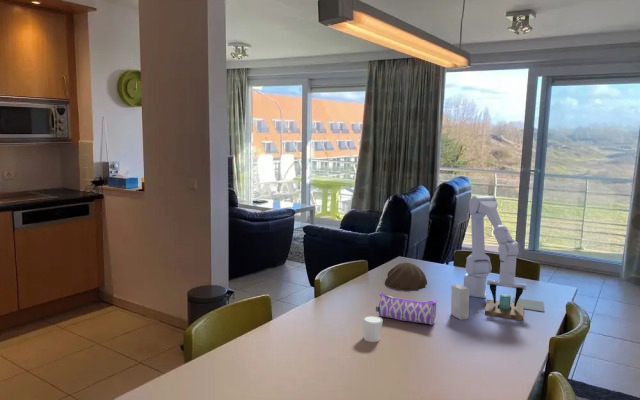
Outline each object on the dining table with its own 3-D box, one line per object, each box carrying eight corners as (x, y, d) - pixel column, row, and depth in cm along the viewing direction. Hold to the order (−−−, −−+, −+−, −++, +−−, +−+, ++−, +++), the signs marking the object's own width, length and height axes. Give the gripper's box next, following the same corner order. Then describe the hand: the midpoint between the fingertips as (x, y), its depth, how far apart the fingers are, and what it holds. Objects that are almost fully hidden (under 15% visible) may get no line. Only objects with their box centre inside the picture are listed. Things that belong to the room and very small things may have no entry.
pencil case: (375, 319, 179) (375, 295, 178) (381, 310, 188) (382, 288, 186) (433, 329, 171) (435, 304, 170) (437, 320, 180) (439, 296, 178)
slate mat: (512, 307, 194) (512, 306, 194) (512, 298, 205) (513, 297, 205) (544, 312, 190) (544, 311, 190) (543, 302, 201) (543, 301, 201)
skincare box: (468, 318, 181) (471, 288, 179) (459, 320, 180) (461, 289, 178) (459, 313, 187) (461, 283, 185) (449, 314, 185) (451, 284, 184)
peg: (498, 312, 189) (499, 296, 188) (499, 308, 193) (500, 293, 192) (509, 313, 187) (510, 298, 186) (509, 310, 191) (510, 295, 190)
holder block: (484, 314, 186) (484, 310, 186) (487, 302, 199) (487, 299, 199) (523, 320, 181) (523, 316, 181) (522, 308, 194) (523, 304, 193)
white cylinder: (369, 344, 157) (369, 324, 156) (358, 336, 163) (358, 317, 162) (385, 340, 160) (386, 321, 159) (374, 332, 166) (375, 314, 165)
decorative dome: (384, 276, 234) (385, 256, 232) (425, 278, 232) (426, 258, 230) (385, 288, 215) (386, 267, 213) (429, 291, 212) (430, 270, 211)
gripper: (487, 271, 187) (485, 304, 189) (527, 276, 181) (524, 310, 183) (488, 267, 193) (486, 299, 195) (527, 271, 188) (524, 304, 189)
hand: (504, 304), depth 189 cm, fingers open, 7 cm apart
